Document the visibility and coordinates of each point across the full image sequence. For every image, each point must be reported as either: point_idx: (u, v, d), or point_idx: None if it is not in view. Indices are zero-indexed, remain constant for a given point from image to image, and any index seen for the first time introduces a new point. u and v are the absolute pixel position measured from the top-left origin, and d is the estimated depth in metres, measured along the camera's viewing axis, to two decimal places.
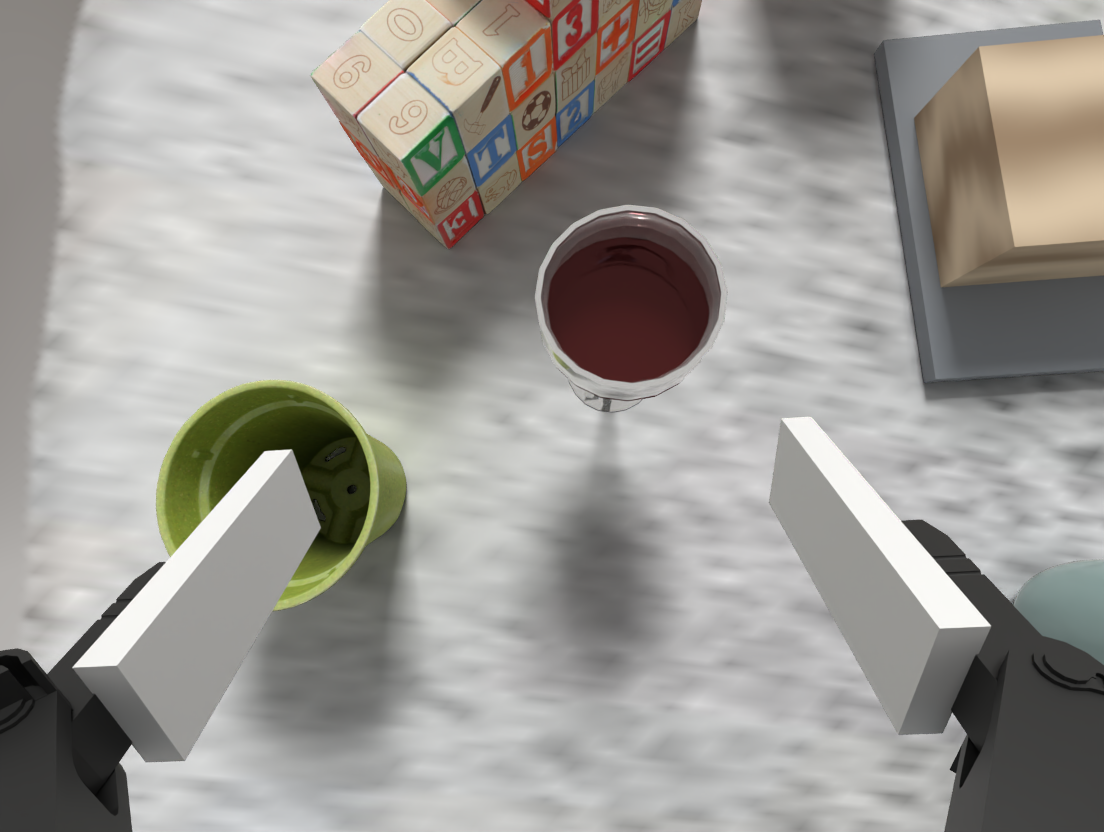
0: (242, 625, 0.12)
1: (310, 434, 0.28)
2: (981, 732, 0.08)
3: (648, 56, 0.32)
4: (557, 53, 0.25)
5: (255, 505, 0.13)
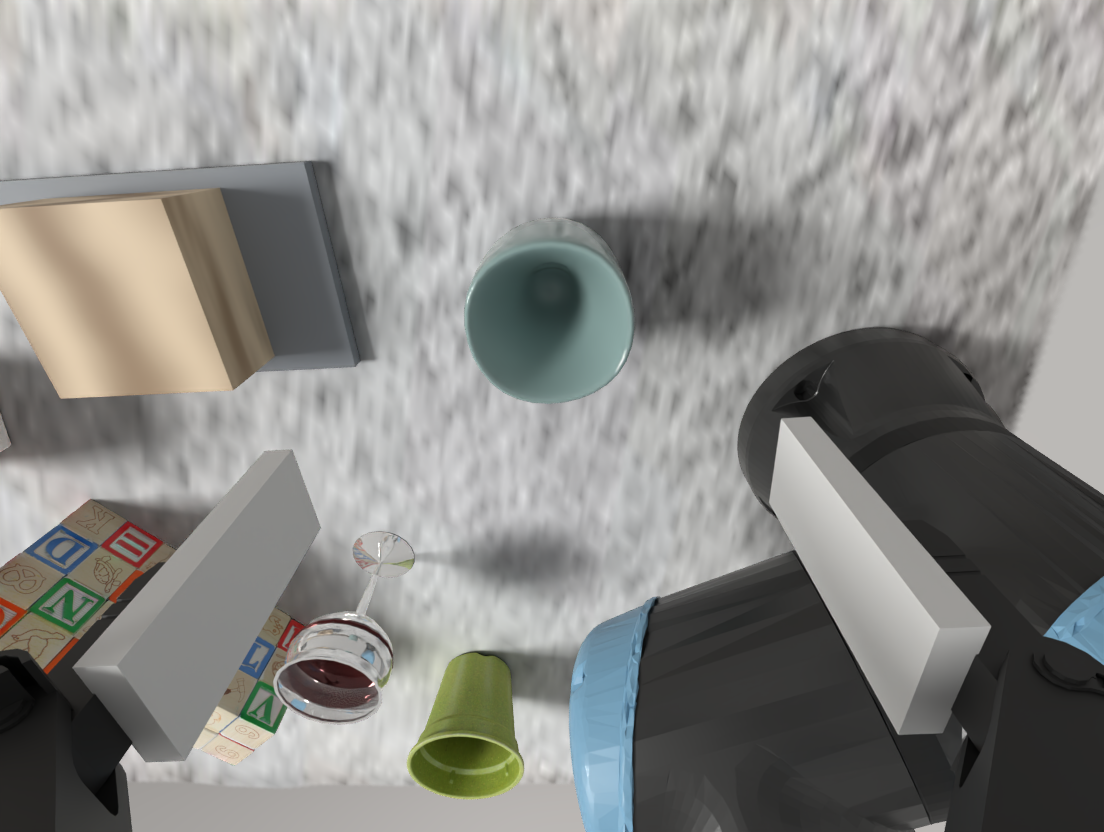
0: (242, 625, 0.12)
1: None
2: (981, 732, 0.08)
3: (138, 535, 0.42)
4: None
5: (255, 505, 0.13)
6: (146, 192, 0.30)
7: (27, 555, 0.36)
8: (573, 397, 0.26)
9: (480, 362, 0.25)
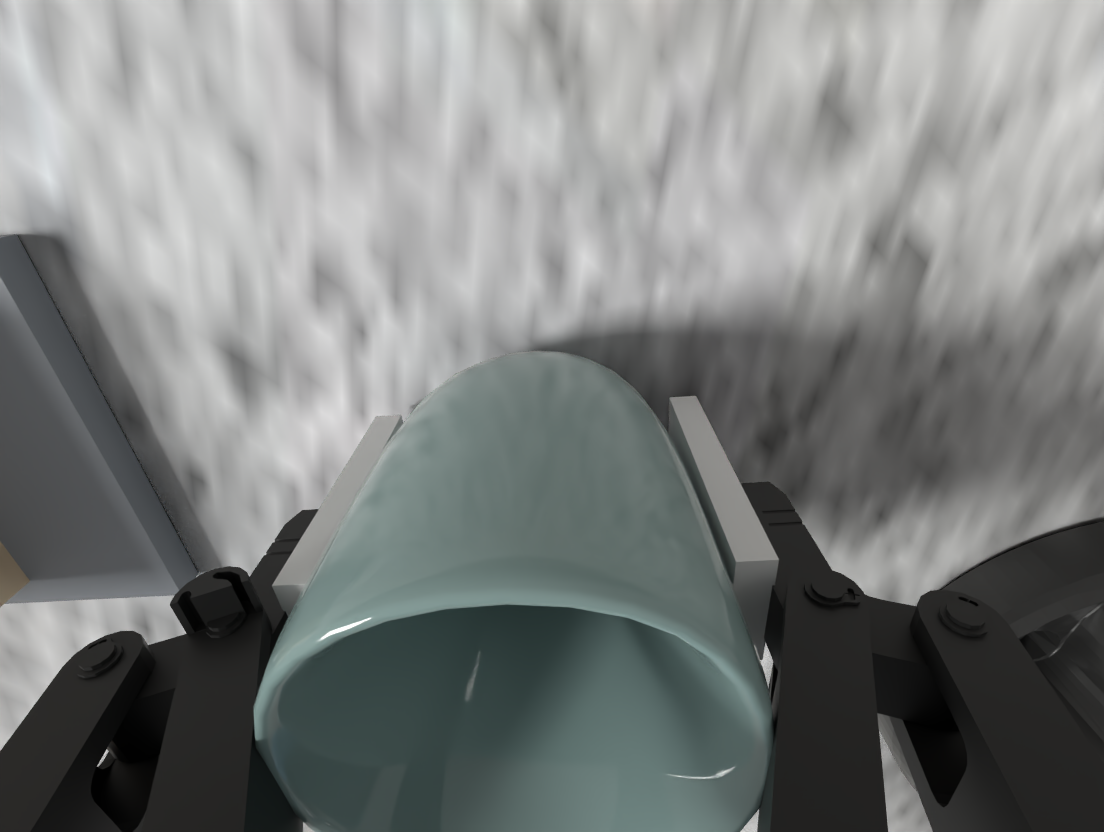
0: None
1: None
2: (780, 660, 0.10)
3: None
4: None
5: None
6: None
7: None
8: None
9: (327, 830, 0.09)
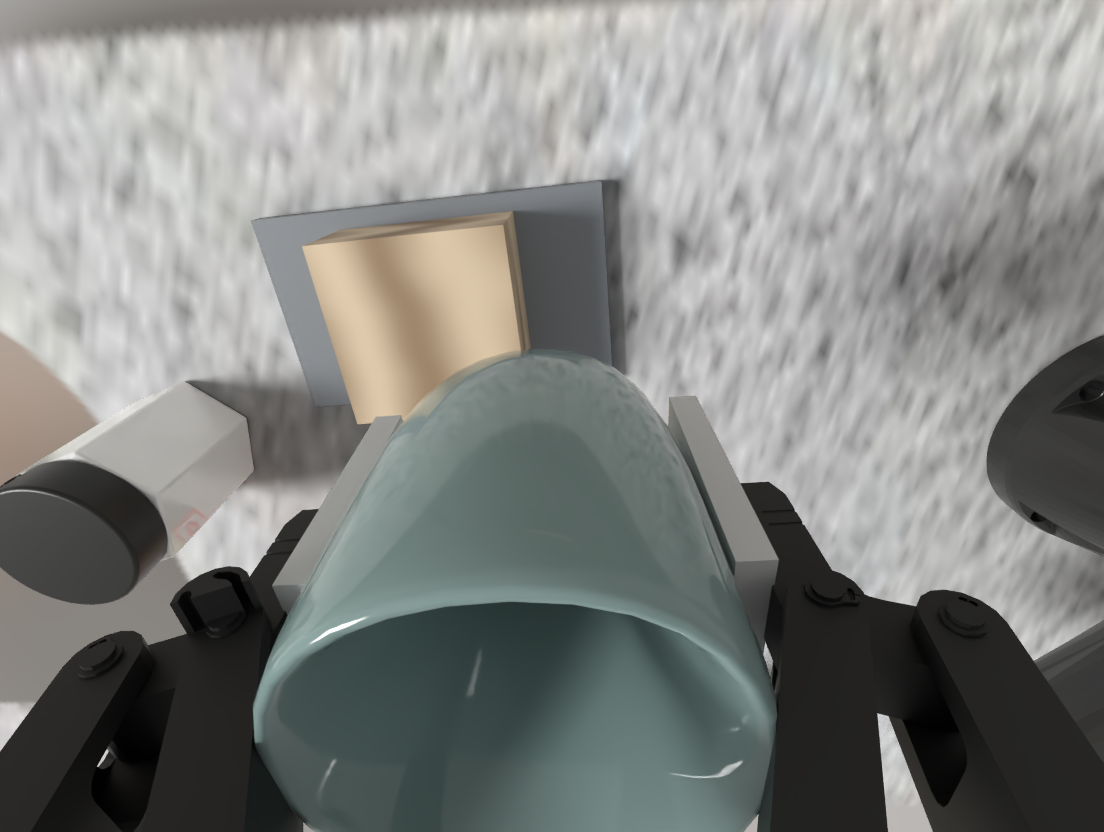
0: None
1: None
2: None
3: None
4: None
5: None
6: (441, 219, 0.30)
7: None
8: None
9: (327, 830, 0.09)
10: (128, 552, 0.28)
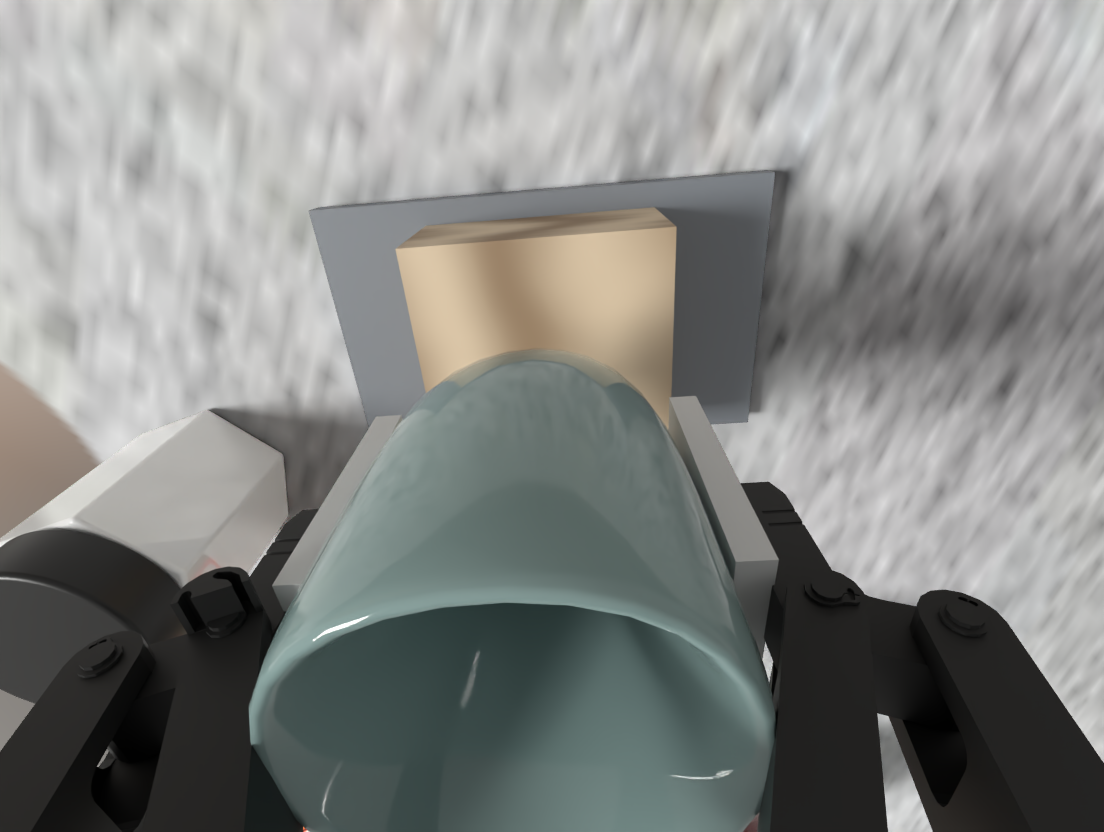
0: None
1: None
2: None
3: None
4: None
5: None
6: (560, 215, 0.23)
7: None
8: None
9: None
10: None
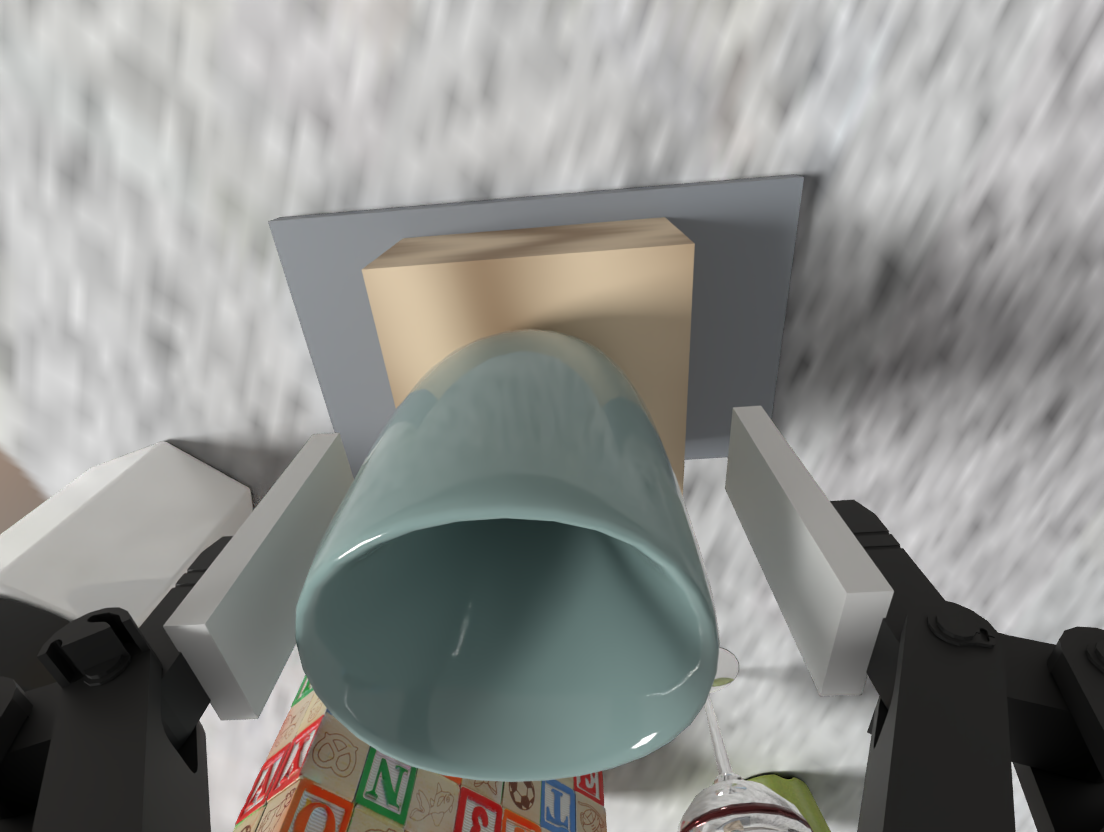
0: None
1: None
2: (889, 694, 0.09)
3: None
4: (497, 823, 0.30)
5: (310, 483, 0.13)
6: (557, 226, 0.20)
7: (331, 716, 0.27)
8: (567, 772, 0.11)
9: (349, 721, 0.11)
10: None
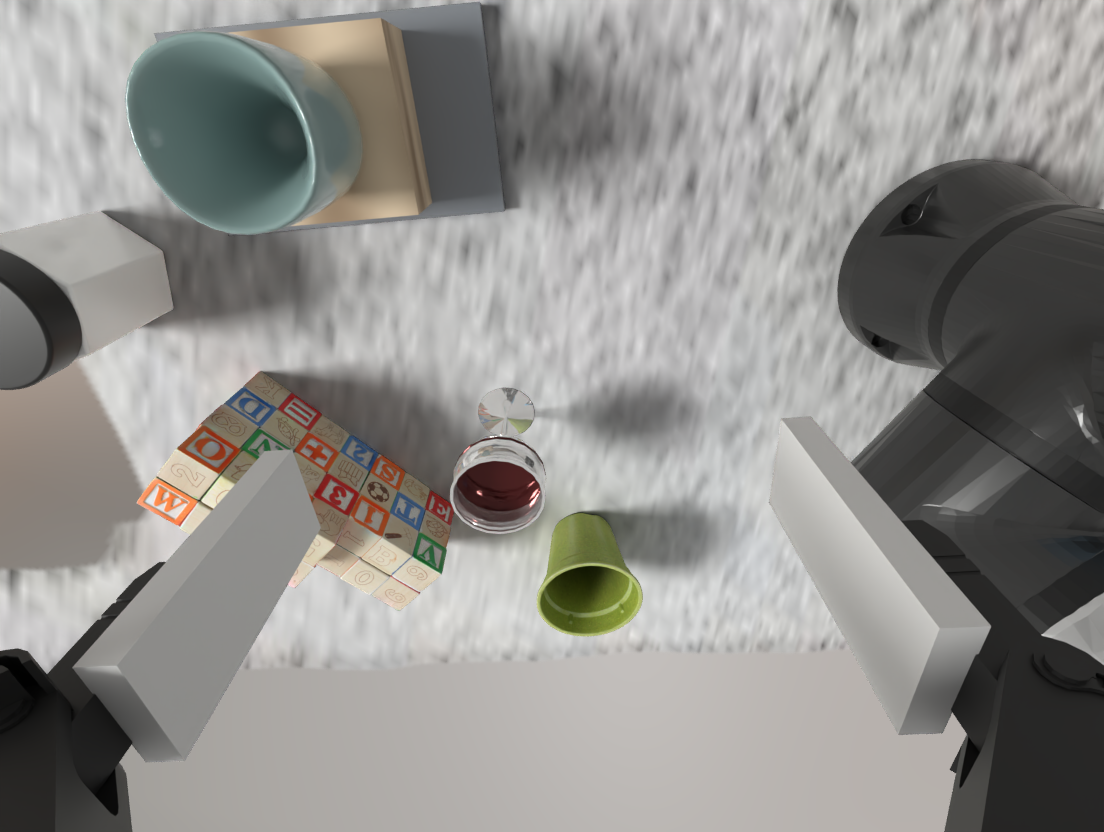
0: (242, 625, 0.12)
1: None
2: (981, 732, 0.08)
3: (302, 405, 0.46)
4: (353, 498, 0.43)
5: (255, 504, 0.13)
6: None
7: (228, 407, 0.40)
8: (271, 225, 0.24)
9: (160, 182, 0.23)
10: (41, 328, 0.31)
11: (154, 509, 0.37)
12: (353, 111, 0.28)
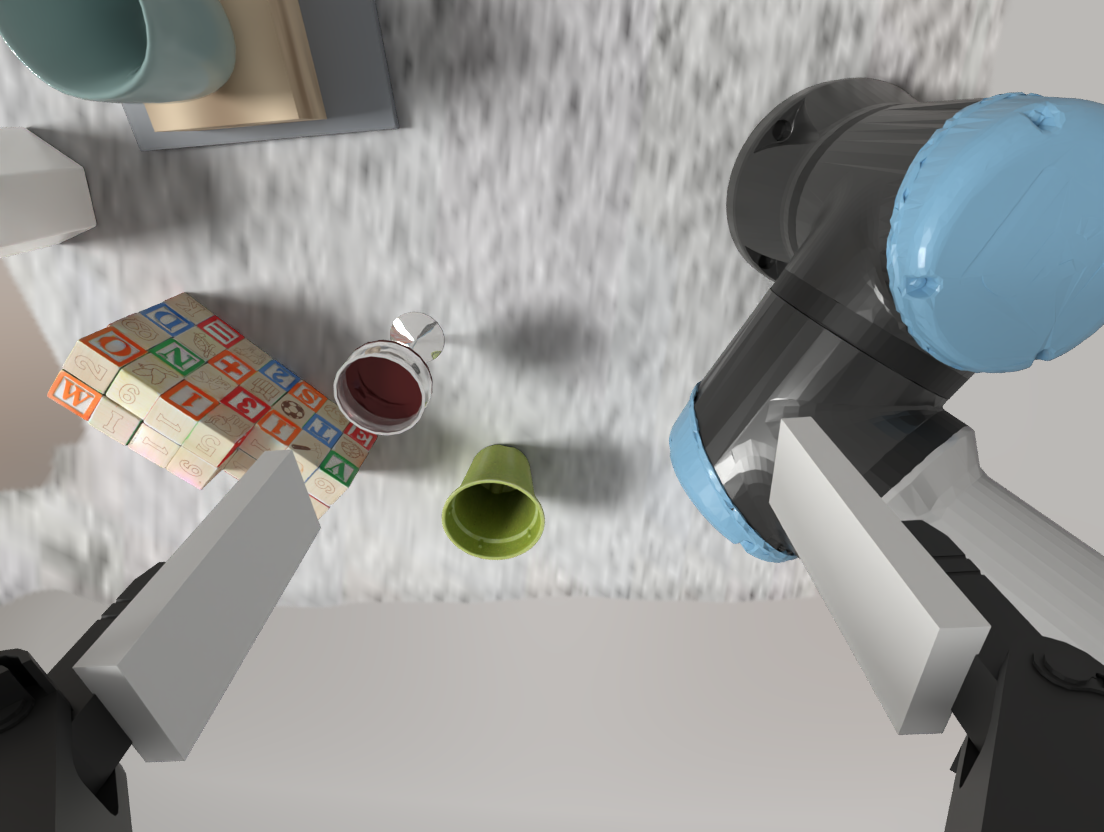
0: (242, 625, 0.12)
1: (471, 494, 0.55)
2: (981, 732, 0.08)
3: (224, 327, 0.49)
4: (263, 410, 0.45)
5: (255, 505, 0.13)
6: None
7: (142, 315, 0.43)
8: (116, 90, 0.27)
9: (12, 46, 0.26)
10: None
11: (63, 403, 0.40)
12: (217, 5, 0.31)
